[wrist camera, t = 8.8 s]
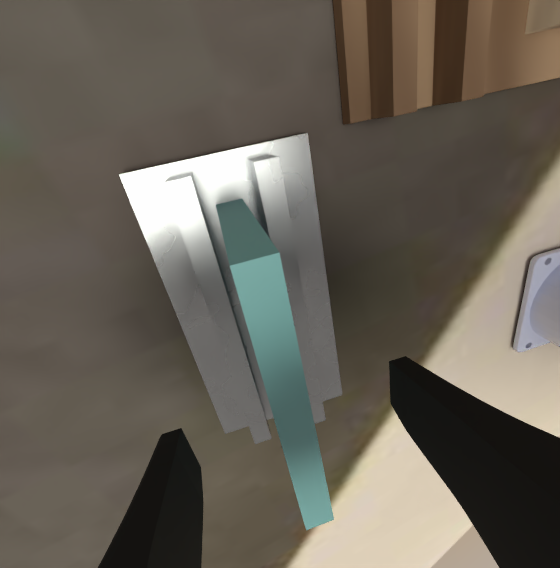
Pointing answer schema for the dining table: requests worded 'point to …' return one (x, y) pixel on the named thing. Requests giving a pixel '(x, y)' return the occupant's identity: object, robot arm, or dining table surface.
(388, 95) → the walnut rack
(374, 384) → the dining table surface
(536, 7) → the lower birch offcut
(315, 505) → the teal board
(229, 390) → the metal slot stand
